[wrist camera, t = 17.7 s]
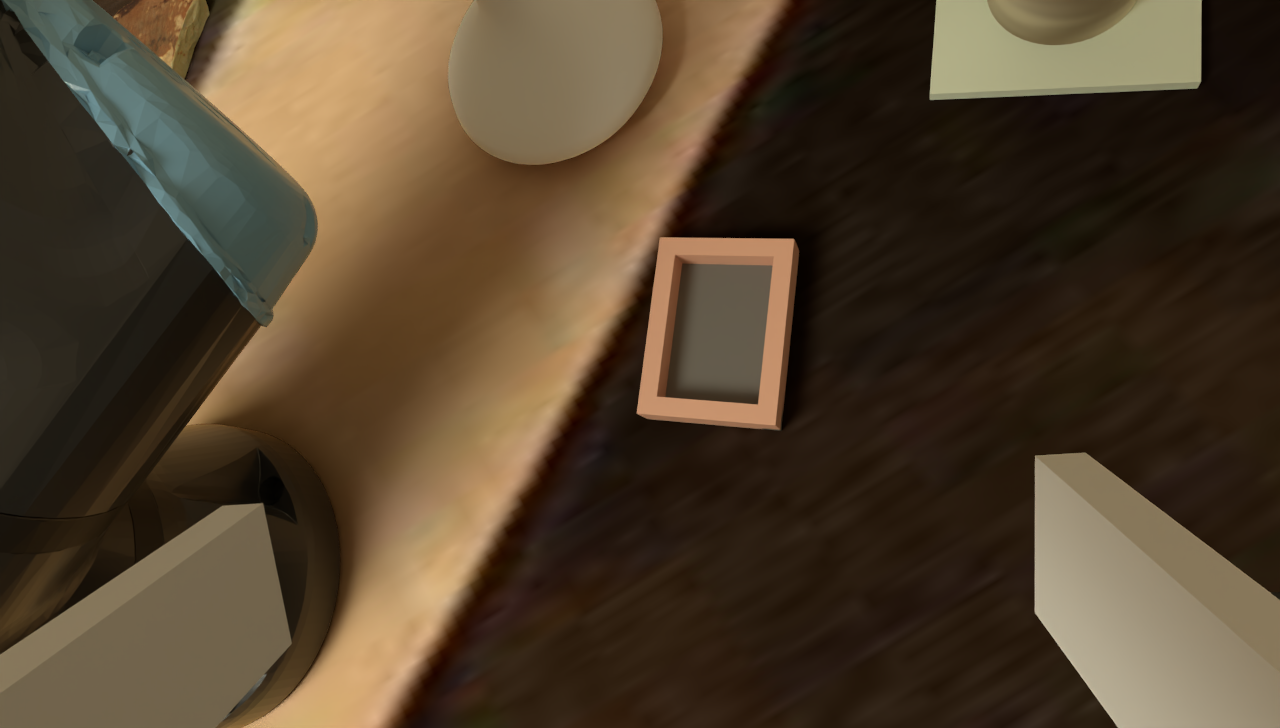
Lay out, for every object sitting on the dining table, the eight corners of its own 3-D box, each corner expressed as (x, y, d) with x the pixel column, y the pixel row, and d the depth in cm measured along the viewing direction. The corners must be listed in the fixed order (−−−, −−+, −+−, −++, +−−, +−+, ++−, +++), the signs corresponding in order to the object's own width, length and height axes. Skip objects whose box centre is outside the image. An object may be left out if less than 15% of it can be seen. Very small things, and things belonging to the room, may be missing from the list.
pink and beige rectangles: (647, 419, 37) (636, 413, 36) (711, -73, 42) (703, -95, 41) (1576, 501, 27) (1612, 497, 25) (1525, -170, 31) (1552, -204, 30)
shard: (70, 87, 56) (44, 73, 55) (109, -15, 57) (85, -32, 56) (185, 101, 52) (160, 86, 51) (225, -9, 53) (202, -27, 52)
